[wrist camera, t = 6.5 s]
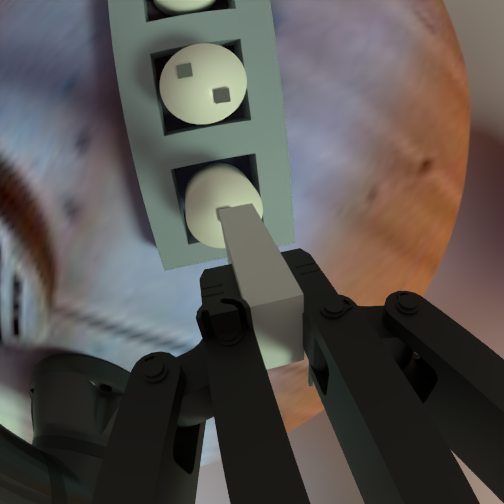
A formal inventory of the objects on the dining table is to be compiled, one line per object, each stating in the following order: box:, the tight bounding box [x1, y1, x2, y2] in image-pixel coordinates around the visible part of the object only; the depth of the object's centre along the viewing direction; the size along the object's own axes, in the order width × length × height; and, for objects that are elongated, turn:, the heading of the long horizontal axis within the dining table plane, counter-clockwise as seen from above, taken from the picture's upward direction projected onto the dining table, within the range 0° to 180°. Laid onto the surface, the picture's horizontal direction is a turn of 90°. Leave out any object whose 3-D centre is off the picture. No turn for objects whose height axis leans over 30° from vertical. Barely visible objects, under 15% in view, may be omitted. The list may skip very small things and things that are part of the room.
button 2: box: [160, 43, 247, 124], centre depth 14 cm, size 4×4×3 cm
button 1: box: [185, 163, 263, 248], centre depth 17 cm, size 4×4×3 cm
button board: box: [108, 0, 295, 271], centre depth 15 cm, size 9×22×2 cm, turn 6°
